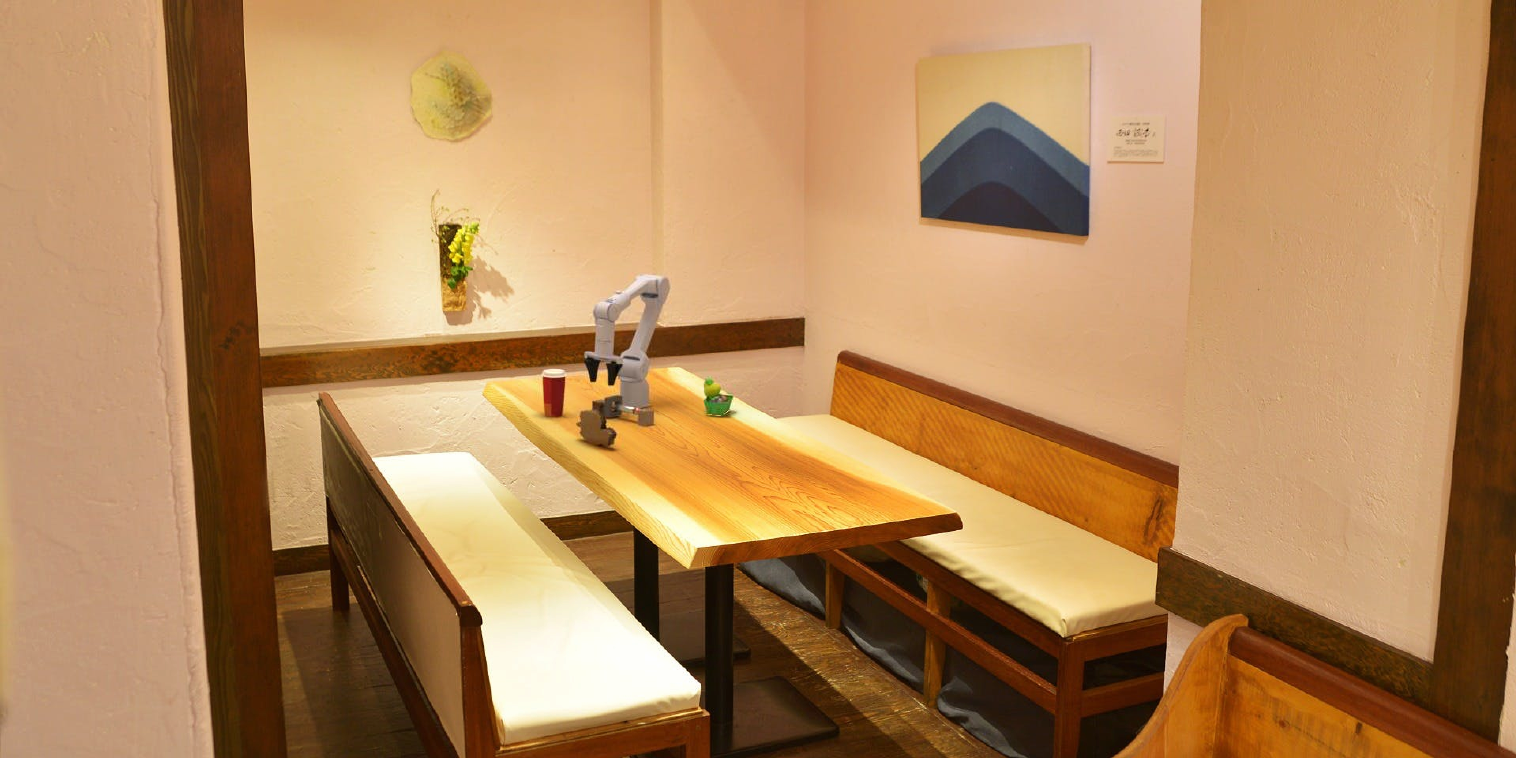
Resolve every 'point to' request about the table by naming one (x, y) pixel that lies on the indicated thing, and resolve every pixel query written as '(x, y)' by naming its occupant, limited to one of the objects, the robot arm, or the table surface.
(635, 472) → the table surface
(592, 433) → the wooden carving
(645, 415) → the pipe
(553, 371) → the paper cup
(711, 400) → the fruit basket
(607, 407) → the collar
